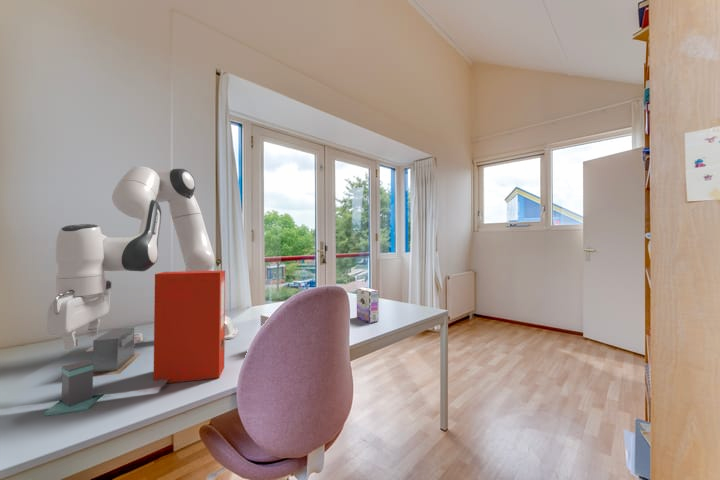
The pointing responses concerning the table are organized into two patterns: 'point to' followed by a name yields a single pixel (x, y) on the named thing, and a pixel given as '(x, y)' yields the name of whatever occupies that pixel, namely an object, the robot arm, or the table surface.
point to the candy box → (367, 304)
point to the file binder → (189, 325)
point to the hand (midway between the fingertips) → (82, 341)
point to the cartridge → (77, 382)
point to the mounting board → (120, 368)
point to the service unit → (113, 350)
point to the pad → (63, 408)
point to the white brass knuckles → (137, 339)
